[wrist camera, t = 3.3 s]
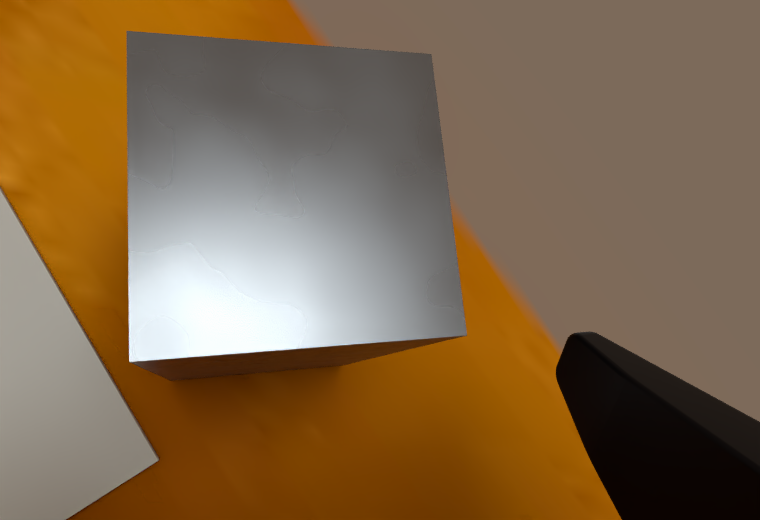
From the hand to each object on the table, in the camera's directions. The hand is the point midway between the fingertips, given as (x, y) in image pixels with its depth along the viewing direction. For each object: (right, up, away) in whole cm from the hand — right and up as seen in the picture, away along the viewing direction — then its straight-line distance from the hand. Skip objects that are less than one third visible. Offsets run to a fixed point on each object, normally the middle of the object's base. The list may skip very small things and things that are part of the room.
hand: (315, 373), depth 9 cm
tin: (-3, +1, +10) cm, 11 cm away
